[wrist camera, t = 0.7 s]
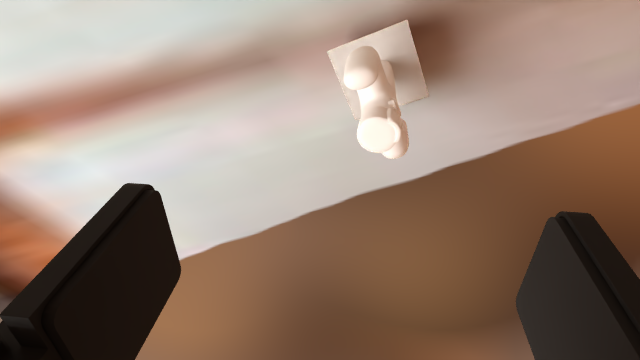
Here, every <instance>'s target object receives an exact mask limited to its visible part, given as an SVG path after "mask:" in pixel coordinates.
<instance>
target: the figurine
mask: <svg viewBox="0 0 640 360" xmlns="http://www.w3.org/2000/svg"><path fill="white" fill-rule="evenodd" d="M327 53H328V55H329V58H330V60H331V63H332V65H333V68H334V70H335V72H336V75H337V77H338V80H339V82H340V85H341V87H342V89H343V92H344V94H345V97H346V99H347V102H348V104H349V106H350V109H351V111H352V114H353V116H354V119H355V120H358V119H360V122H359V126H358V130H357V138H358V141H359V143H360V144H361V146H362V147H363V148H365V149H366V150H368V151H370V152H374V153H382V154H383V155H384V156H385V157H387V158H389V159H396V158H399V157H401V156H403V155H404V154H405V153H406V151H407V149H408V145H409V138H408V132H407V125H406V122H405V121H404V120H403V119H401V118H400V116H401V111H400V109H399V106H401V105H404V104H407V103H410V102H413V101H416V100H420V99H423V98H426V97H429V93H428V90H427V87H426V83H425V80H424V76H423V73H422V69H421V66H420V62H419V59H418V55H417V52H416V48H415V45H414V42H413V38H412V35H411V31H410V28H409V24H408V21H407V20H405V21H402V22H400V23H397V24H395V25H392V26H390V27H387V28H385V29H382V30H379V31H377V32H374V33H372V34H369V35H367V36H364V37H362V38H359V39H357V40H354V41H352V42H349V43H347V44H344V45H342V46H339V47H337V48H334V49H332V50H329V51H327Z"/></svg>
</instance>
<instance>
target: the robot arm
mask: <svg viewBox="0 0 640 360" xmlns="http://www.w3.org/2000/svg"><path fill="white" fill-rule="evenodd" d="M180 274H181V266H180V262H179V258H178V255H177V251H176V248H175V244H174V241H173V237H172V234H171V230H170V227H169V223H168V220H167V216H166V212H165V209H164V205H163V202H162V198H161V195H160V193H159V192H158V191H155V190H154V188H153V187H152V186H151V185H149V184H134V183H127V184H125V185H123V186H122V187H121V188H120V189H119V190H118V191H117V192H116V193H115V194H114V196H113V197H112V198H111V199H110V200H109V201H108V202H107V203H106V204H105V205H104V206H103V207H102V208H101V209H100V210H99V211H98V212H97V213H96V214H95V215H94V216H93V217H92V219H91V220H90V221H89V222H88V223H87V224H86V225H85V226H84V227H83V228H82V229H81V230H80V231H79V232H78V233H77V234H76V235H75V236H74V237H73V238H72V239H71V240H70V241H69V243H68V244H67V245H66V246H65V247H64V248H63V249H62V250H61V251H60V252H59V253H58V254H57V255H56V256H55V257H54V258H53V259H52V260H51V261H50V262H49V263H48V264H47V265H46V267H45V268H44V269H43V270H42V271H41V272H40V273H39V274H38V275H37V276H36V277H35V278H34V279H33V280H32V281H31V282H30V283H29V284H28V285H27V286H26V287H25V288H24V289H23V291H22V292H21V293H20V294H19V295H18V296H17V297H16V298H15V299H14V300H13V301H12V302H11V303H10V304H9V305H8V306H7V307H6V308H5V309H4V310H3V311H2V312H1V314H0V317H1V319H2V320H3V321H2V322H1V323H0V360H135V358H136V356H137V355H138V353H139V351H140V349H141V347H142V346H143V344H144V342H145V340H146V338H147V337H148V335H149V333H150V331H151V329H152V328H153V326H154V324H155V322H156V320H157V318H158V317H159V315H160V313H161V311H162V309H163V308H164V306H165V304H166V302H167V300H168V298H169V297H170V295H171V293H172V291H173V289H174V288H175V286H176V284H177V282H178V280H179V277H180ZM516 307H517V311H518V314H519V317H520V320H521V322H522V325H523V328H524V330H525V333H526V336H527V339H528V342H529V344H530V347H531V350H532V352H533V355H534V358H535V360H640V279H639V278H638V277H637V275H636V274H635V273H634V271H633V270H632V269H631V267H630V266H629V264H628V263H627V262H626V260H625V259H624V258H623V256H622V255H621V254H620V252H619V251H618V250H617V248H616V247H615V245H614V244H613V243H612V242H611V240H610V239H609V237H608V236H607V235H606V233H605V232H604V231H603V229H602V228H601V226H600V225H599V224H598V222H597V221H596V220H595V218H594V217H593V216H592V215H591V214H588V213H578V212H563V211H562V212H559V213H558V214H557V215H556V217H551V218H549V219H548V221H547V222H546V225H545V228H544V230H543V232H542V235H541V237H540V240H539V242H538V245H537V248H536V250H535V252H534V255H533V257H532V260H531V262H530V264H529V267H528V269H527V272H526V274H525V277H524V279H523V282H522V284H521V287H520V289H519V292H518V294H517V298H516Z"/></svg>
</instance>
